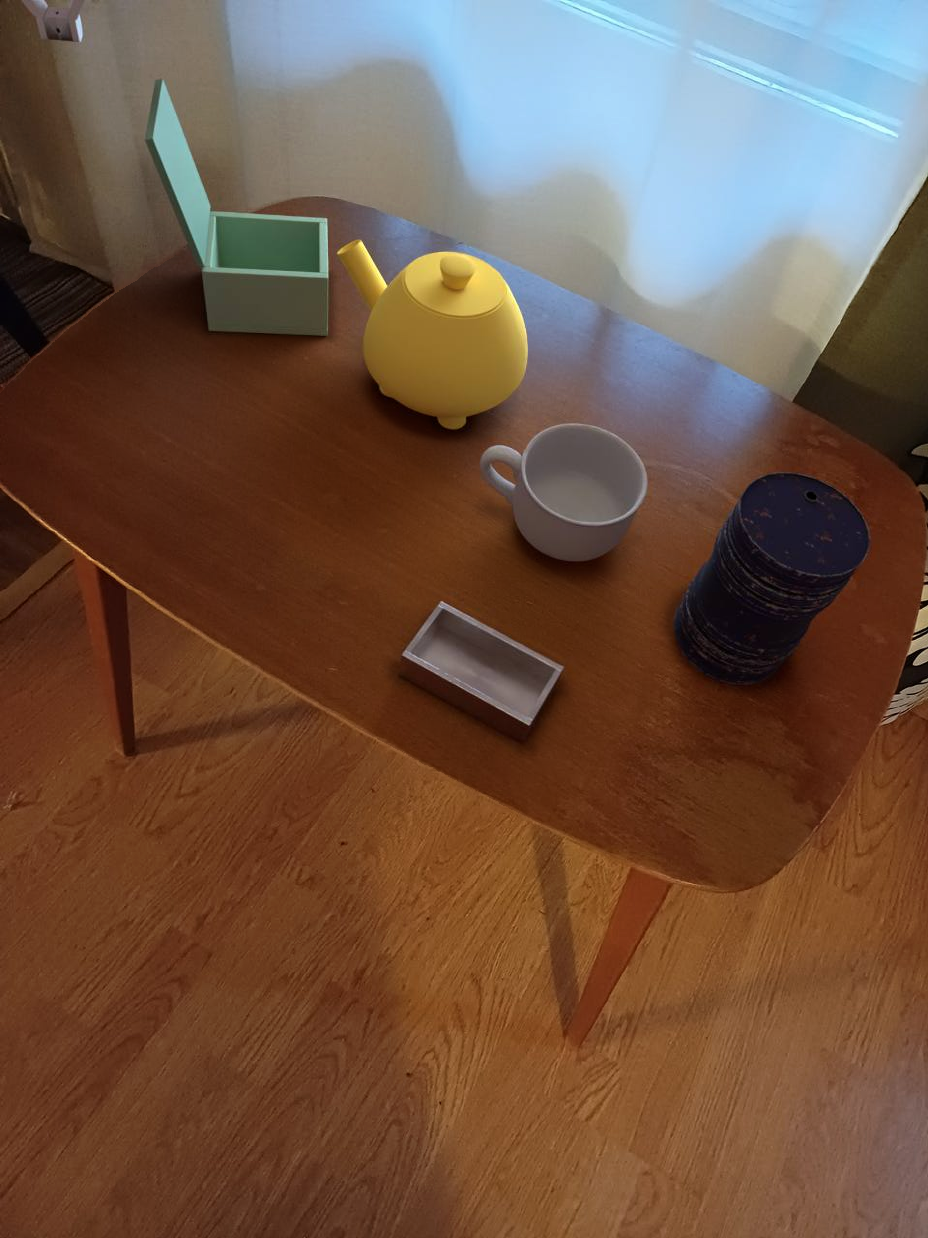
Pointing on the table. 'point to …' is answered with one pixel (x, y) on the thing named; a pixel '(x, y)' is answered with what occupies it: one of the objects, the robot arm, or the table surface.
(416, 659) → the open storage tray
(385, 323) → the teapot
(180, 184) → the lunchbox lid
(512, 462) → the teacup
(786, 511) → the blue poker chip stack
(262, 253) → the lunchbox
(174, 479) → the table surface
